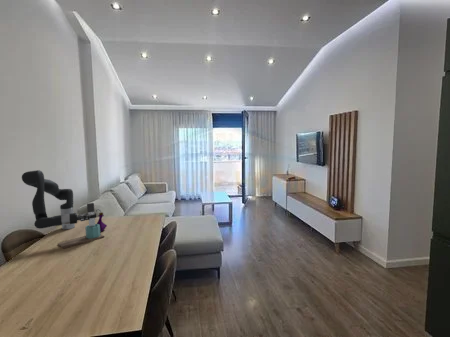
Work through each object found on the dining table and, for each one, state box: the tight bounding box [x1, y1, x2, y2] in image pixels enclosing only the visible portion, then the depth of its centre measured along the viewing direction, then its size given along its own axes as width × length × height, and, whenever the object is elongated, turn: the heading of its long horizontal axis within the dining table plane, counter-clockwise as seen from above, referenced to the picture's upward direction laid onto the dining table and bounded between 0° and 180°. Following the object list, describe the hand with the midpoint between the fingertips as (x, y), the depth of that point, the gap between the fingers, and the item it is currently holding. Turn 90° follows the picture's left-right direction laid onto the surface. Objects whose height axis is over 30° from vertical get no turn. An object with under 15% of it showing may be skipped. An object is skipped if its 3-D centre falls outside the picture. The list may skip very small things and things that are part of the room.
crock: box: [84, 223, 101, 239], centre depth 192 cm, size 9×9×8 cm
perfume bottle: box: [95, 208, 108, 233], centre depth 207 cm, size 8×8×18 cm
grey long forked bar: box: [86, 202, 96, 228], centre depth 191 cm, size 4×4×24 cm
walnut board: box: [57, 233, 105, 250], centre depth 186 cm, size 12×27×1 cm, turn 138°
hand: (96, 215), depth 192 cm, fingers open, 3 cm apart
